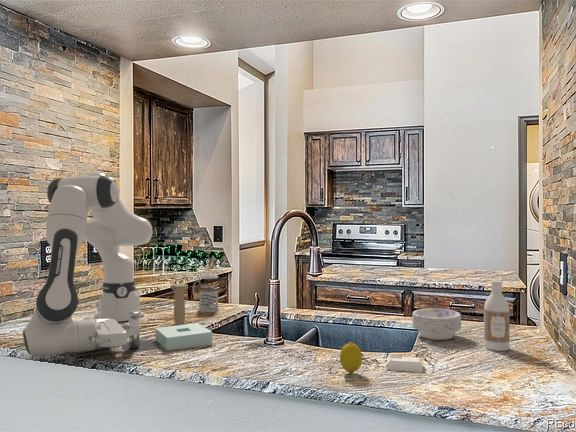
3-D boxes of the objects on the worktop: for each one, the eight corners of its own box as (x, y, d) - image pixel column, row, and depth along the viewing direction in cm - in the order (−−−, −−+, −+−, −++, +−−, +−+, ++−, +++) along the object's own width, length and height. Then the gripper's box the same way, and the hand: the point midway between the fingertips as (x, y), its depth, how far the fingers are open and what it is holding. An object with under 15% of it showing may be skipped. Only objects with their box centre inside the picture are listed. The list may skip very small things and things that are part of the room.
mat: (119, 344, 152) (119, 343, 152) (151, 340, 157) (151, 339, 157) (126, 354, 142) (126, 353, 142) (161, 349, 147) (161, 348, 147)
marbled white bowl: (403, 337, 159) (403, 312, 159) (425, 329, 170) (425, 306, 170) (448, 345, 149) (448, 319, 149) (469, 336, 160) (469, 312, 160)
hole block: (155, 340, 157) (155, 328, 157) (197, 334, 164) (197, 322, 164) (167, 351, 145) (167, 337, 145) (212, 344, 151) (212, 331, 151)
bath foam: (485, 350, 144) (484, 282, 143) (483, 344, 150) (483, 279, 150) (511, 352, 142) (510, 283, 141) (507, 346, 148) (507, 279, 148)
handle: (181, 329, 171) (181, 286, 171) (168, 327, 175) (167, 285, 174) (191, 326, 175) (190, 284, 175) (177, 324, 179) (177, 283, 179)
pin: (126, 347, 148) (125, 311, 148) (139, 345, 150) (139, 310, 150) (128, 350, 144) (128, 314, 144) (142, 349, 146) (142, 312, 146)
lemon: (338, 370, 126) (337, 339, 126) (359, 369, 127) (359, 338, 127) (342, 377, 121) (342, 345, 121) (364, 377, 121) (364, 344, 121)
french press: (218, 312, 201) (218, 250, 201) (190, 312, 201) (190, 251, 201) (222, 307, 211) (222, 249, 211) (195, 307, 211) (194, 249, 211)
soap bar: (422, 373, 125) (422, 363, 125) (386, 371, 127) (386, 360, 127) (422, 367, 130) (422, 357, 130) (387, 365, 132) (387, 355, 132)
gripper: (92, 331, 131) (145, 325, 138) (83, 317, 149) (130, 312, 156) (92, 355, 132) (145, 347, 138) (83, 337, 149) (130, 332, 156)
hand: (137, 328), depth 147 cm, fingers closed on pin, 3 cm apart
